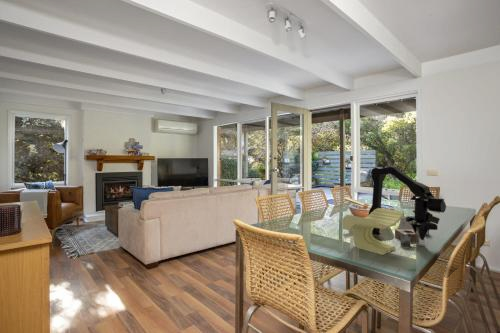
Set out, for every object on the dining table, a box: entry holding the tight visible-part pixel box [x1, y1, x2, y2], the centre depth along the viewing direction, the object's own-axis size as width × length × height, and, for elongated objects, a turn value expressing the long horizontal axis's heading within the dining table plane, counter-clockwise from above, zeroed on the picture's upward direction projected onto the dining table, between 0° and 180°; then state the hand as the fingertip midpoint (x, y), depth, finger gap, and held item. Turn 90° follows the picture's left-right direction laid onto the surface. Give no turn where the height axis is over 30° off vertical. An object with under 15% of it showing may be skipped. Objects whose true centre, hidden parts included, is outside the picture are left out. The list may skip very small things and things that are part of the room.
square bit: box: [415, 227, 426, 247], centre depth 140 cm, size 3×3×9 cm
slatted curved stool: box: [342, 207, 405, 256], centre depth 135 cm, size 30×16×18 cm, turn 127°
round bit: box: [399, 232, 412, 247], centre depth 139 cm, size 5×5×6 cm
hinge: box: [396, 216, 430, 237], centre depth 164 cm, size 17×5×10 cm, turn 35°
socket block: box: [394, 228, 416, 243], centre depth 150 cm, size 10×10×4 cm
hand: (420, 238), depth 140 cm, fingers closed on square bit, 3 cm apart
